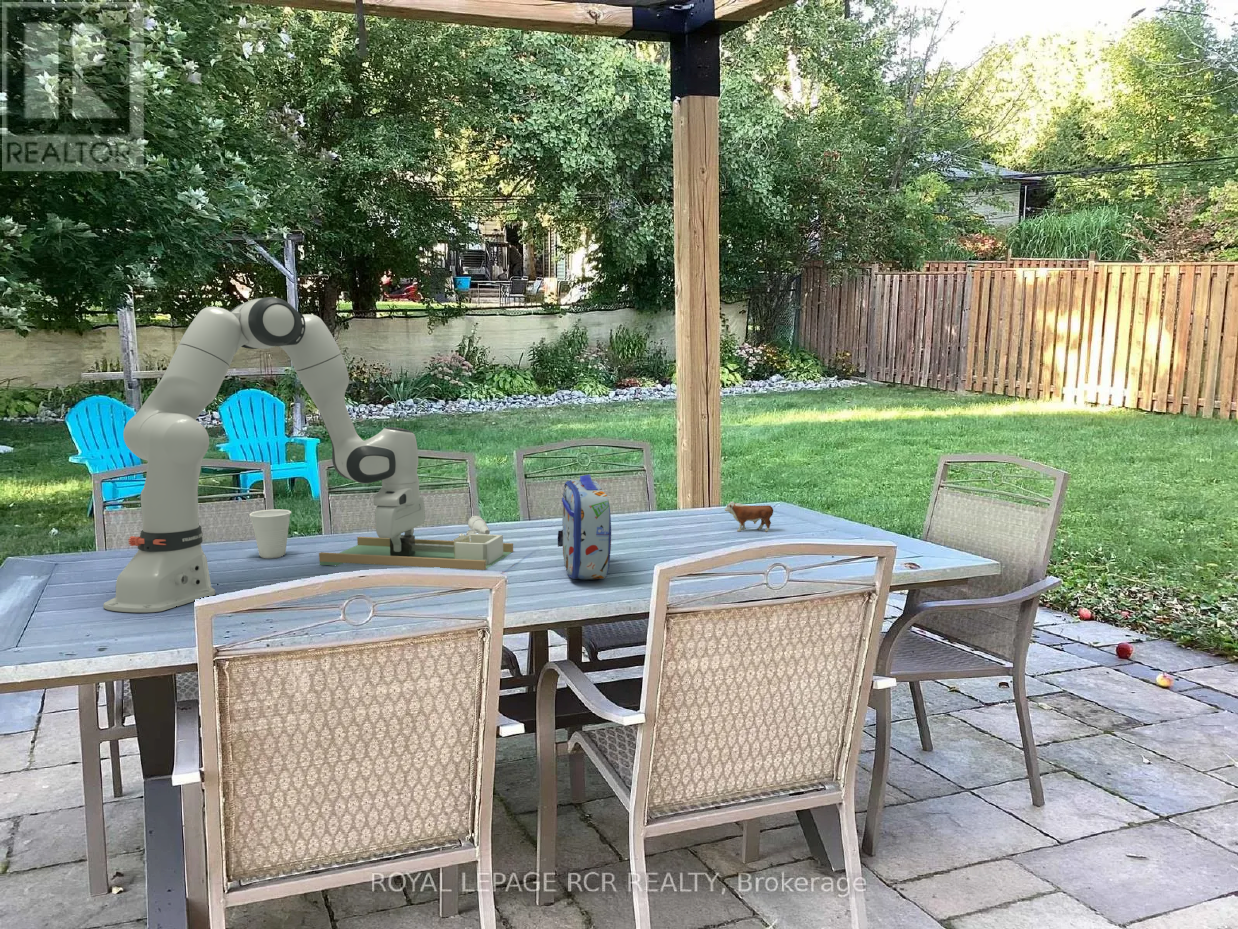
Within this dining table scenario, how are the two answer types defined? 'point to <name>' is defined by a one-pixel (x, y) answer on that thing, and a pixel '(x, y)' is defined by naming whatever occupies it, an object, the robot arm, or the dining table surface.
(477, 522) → the cream rounded piece
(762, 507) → the bull figurine
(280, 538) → the cup
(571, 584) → the dining table surface
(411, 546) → the kicker rod
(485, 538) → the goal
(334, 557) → the pitch
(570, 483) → the lunch box
